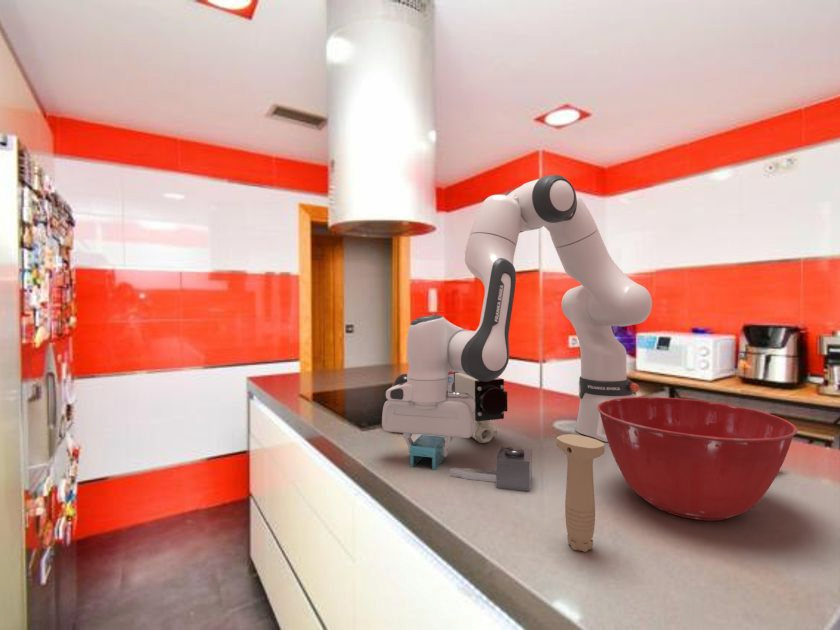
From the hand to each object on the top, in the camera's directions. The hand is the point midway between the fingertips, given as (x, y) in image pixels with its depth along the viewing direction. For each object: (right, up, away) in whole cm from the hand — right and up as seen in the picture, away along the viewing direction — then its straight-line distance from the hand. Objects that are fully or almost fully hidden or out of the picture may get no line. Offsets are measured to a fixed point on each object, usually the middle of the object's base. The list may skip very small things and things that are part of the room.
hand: (428, 454), depth 96 cm
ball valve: (+13, -1, +16) cm, 21 cm away
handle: (+21, -3, -34) cm, 40 cm away
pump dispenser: (-6, -1, +25) cm, 26 cm away
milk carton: (+6, -1, +45) cm, 46 cm away
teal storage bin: (0, -2, 0) cm, 2 cm away
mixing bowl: (+44, -2, -20) cm, 48 cm away
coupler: (+12, -2, -10) cm, 16 cm away
